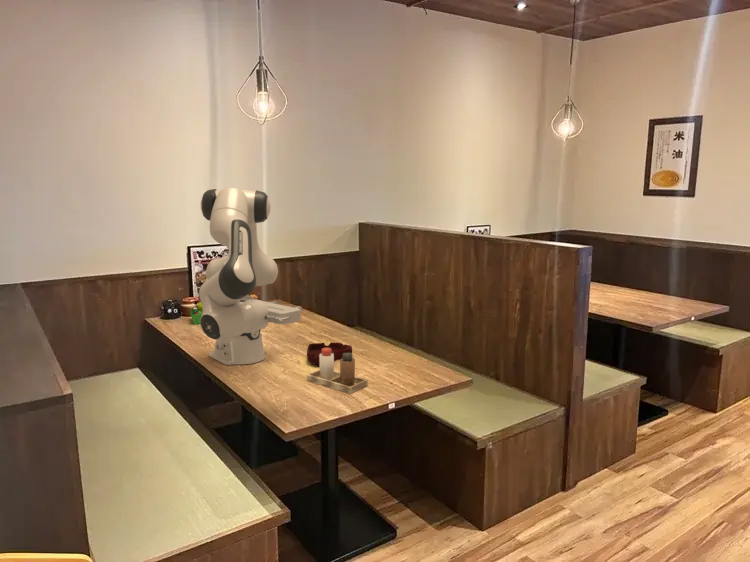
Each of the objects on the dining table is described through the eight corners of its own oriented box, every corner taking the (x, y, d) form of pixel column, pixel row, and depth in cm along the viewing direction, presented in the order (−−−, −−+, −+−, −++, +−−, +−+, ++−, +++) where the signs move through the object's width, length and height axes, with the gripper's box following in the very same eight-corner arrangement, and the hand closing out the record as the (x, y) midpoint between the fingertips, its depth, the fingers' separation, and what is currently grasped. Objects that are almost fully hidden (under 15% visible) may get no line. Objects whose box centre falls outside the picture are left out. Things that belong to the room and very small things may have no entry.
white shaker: (316, 380, 194) (316, 349, 192) (326, 376, 198) (326, 345, 196) (327, 383, 192) (327, 352, 189) (336, 379, 195) (336, 348, 193)
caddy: (306, 383, 195) (306, 374, 194) (324, 376, 202) (324, 367, 201) (350, 396, 183) (350, 387, 183) (367, 388, 190) (367, 379, 190)
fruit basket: (191, 319, 275) (189, 296, 273) (210, 318, 278) (209, 295, 276) (191, 325, 265) (189, 301, 263) (211, 324, 267) (210, 300, 265)
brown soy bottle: (337, 386, 189) (337, 354, 187) (346, 382, 193) (346, 350, 191) (348, 390, 186) (348, 357, 184) (357, 385, 190) (357, 353, 188)
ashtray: (325, 350, 231) (325, 338, 230) (356, 358, 221) (356, 346, 220) (292, 361, 218) (292, 348, 217) (323, 371, 208) (323, 357, 207)
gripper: (279, 310, 158) (314, 301, 169) (230, 299, 170) (265, 292, 181) (280, 332, 160) (314, 322, 171) (231, 320, 172) (266, 311, 183)
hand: (288, 306), depth 176 cm, fingers open, 8 cm apart
